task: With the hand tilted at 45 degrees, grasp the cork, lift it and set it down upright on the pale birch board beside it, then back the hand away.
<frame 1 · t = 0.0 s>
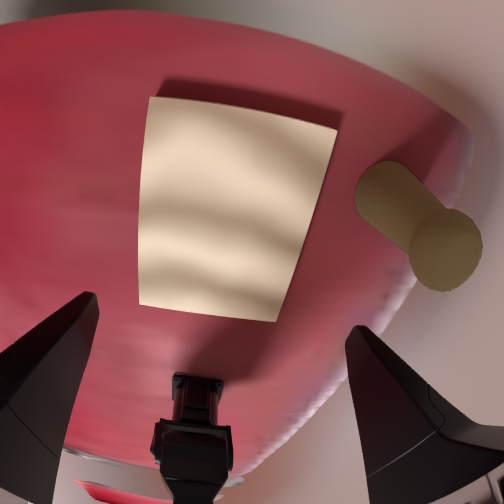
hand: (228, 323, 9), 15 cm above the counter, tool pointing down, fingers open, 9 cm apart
cork: (384, 193, 23), on the counter
birch board: (222, 219, 24), on the counter
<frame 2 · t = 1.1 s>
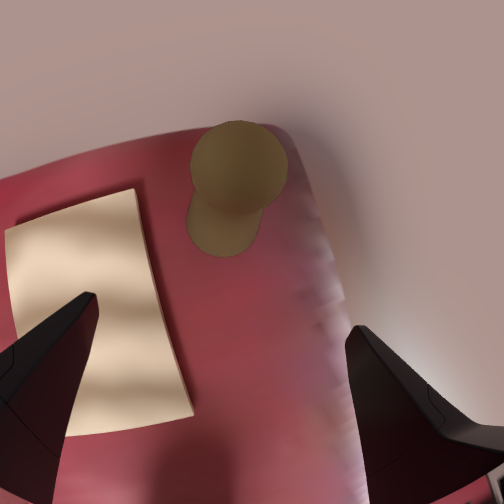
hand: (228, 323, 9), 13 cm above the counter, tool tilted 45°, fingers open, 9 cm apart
cork: (222, 221, 24), on the counter
birch board: (85, 319, 20), on the counter
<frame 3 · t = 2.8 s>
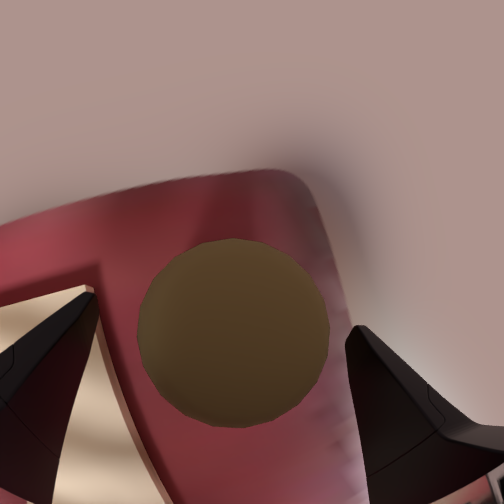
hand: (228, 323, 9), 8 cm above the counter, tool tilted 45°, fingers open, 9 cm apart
cork: (213, 327, 17), on the counter
birch board: (52, 439, 13), on the counter
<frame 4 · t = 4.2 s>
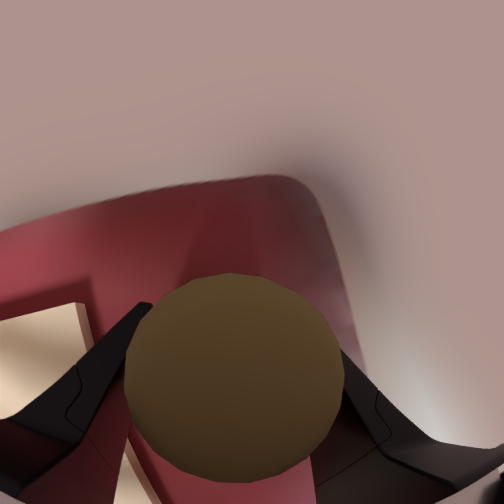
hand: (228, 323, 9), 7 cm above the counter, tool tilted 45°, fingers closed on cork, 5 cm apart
cork: (212, 346, 16), on the counter, touching gripper
birch board: (48, 457, 11), on the counter
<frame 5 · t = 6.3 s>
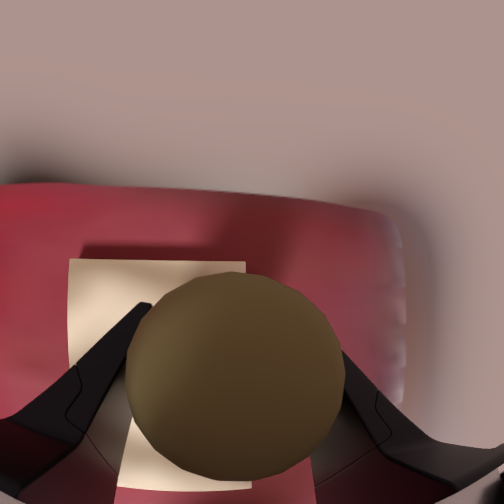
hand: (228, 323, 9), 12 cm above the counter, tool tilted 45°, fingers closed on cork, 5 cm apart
cork: (212, 345, 16), point 5 cm above the counter, touching gripper
birch board: (157, 384, 19), on the counter
when the fingers open (9 cm above the counter, at t = 8.2 s): cork stays where it is, resting on birch board.
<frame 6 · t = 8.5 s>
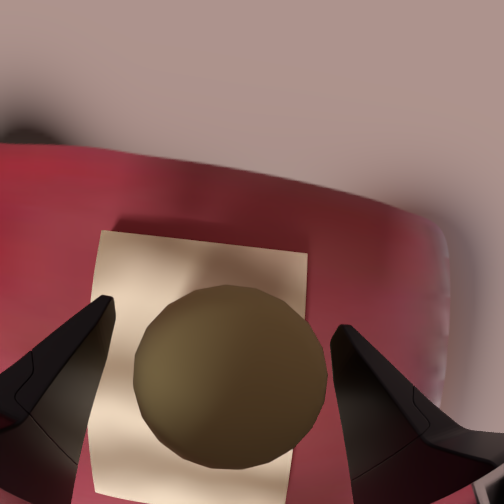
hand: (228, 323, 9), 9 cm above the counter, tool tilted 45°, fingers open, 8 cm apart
cork: (211, 347, 16), point 1 cm above the counter, touching birch board
birch board: (191, 386, 17), on the counter
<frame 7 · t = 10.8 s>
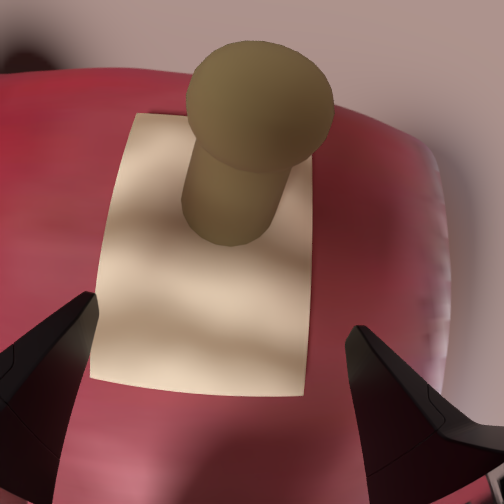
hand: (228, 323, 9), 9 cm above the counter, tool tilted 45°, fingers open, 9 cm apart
cork: (228, 200, 19), point 1 cm above the counter, touching birch board
birch board: (207, 247, 19), on the counter
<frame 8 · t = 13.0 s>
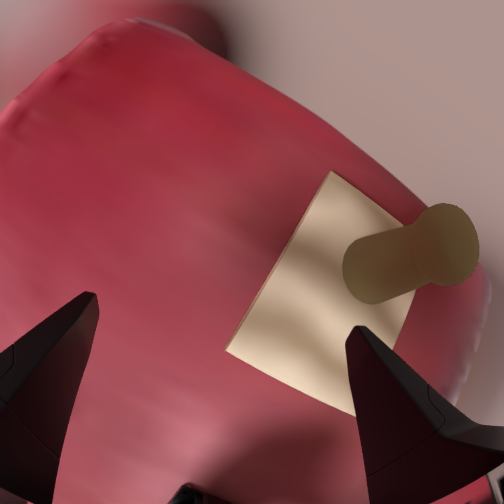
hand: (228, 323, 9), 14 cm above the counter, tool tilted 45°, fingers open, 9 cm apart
cork: (370, 270, 25), point 1 cm above the counter, touching birch board
birch board: (342, 294, 25), on the counter
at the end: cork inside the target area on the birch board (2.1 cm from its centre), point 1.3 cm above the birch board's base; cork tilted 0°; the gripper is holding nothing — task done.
